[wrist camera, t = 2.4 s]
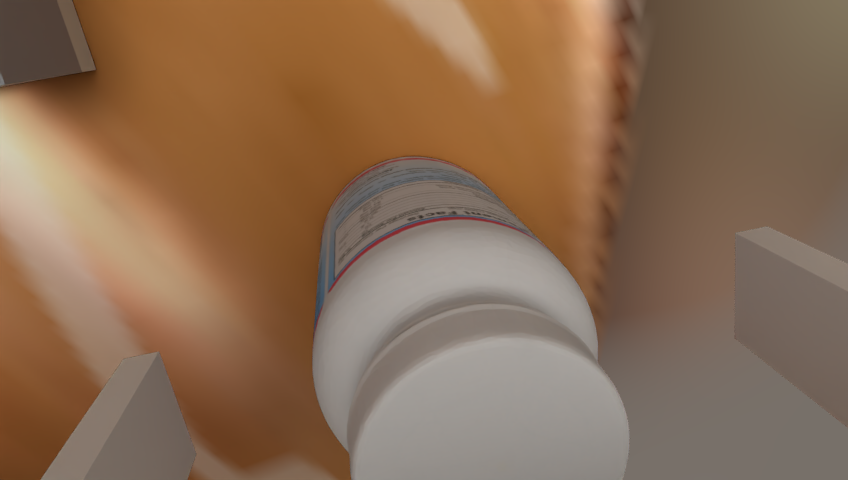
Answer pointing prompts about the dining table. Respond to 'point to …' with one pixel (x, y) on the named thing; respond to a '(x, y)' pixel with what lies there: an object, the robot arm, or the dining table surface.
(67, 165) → the dining table surface
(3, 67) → the notch board
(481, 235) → the pill bottle
